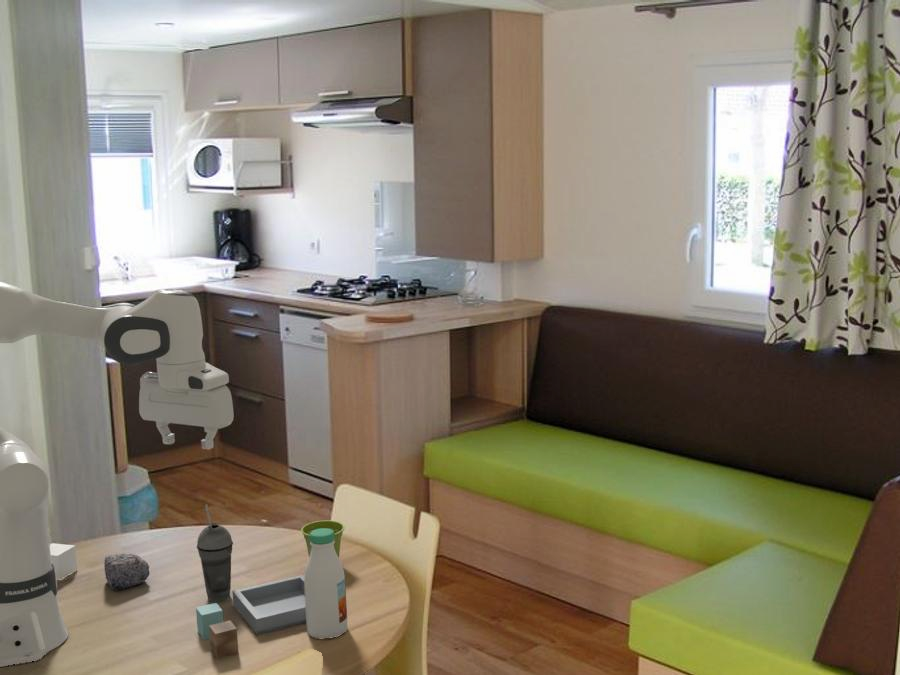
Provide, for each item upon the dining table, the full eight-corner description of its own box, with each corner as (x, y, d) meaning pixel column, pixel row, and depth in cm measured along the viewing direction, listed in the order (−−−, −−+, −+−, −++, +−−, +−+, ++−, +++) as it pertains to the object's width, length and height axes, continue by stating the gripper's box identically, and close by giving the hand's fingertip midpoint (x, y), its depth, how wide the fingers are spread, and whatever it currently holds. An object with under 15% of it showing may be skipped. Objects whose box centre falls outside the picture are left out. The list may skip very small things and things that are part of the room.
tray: (257, 634, 207) (256, 619, 206) (233, 605, 220) (232, 590, 219) (331, 616, 214) (331, 600, 213) (304, 588, 227) (303, 574, 226)
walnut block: (217, 659, 198) (215, 633, 197) (211, 650, 201) (209, 625, 200) (238, 653, 199) (236, 628, 199) (232, 645, 203) (230, 620, 202)
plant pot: (355, 561, 240) (353, 524, 239) (328, 577, 232) (326, 538, 231) (321, 554, 245) (319, 517, 244) (294, 568, 237) (292, 531, 236)
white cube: (60, 582, 235) (57, 555, 234) (37, 579, 236) (34, 553, 235) (77, 571, 240) (75, 545, 239) (54, 568, 242) (52, 543, 241)
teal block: (203, 640, 205) (201, 615, 204) (197, 631, 209) (195, 607, 208) (224, 634, 207) (222, 610, 206) (218, 626, 211) (216, 602, 210)
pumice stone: (149, 584, 237) (103, 575, 236) (156, 551, 236) (110, 541, 235) (139, 603, 227) (91, 593, 226) (147, 569, 226) (99, 559, 225)
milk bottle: (330, 644, 202) (325, 542, 198) (298, 635, 206) (292, 535, 202) (355, 627, 208) (350, 528, 205) (324, 619, 213) (318, 521, 209)
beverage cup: (228, 606, 220) (221, 512, 216) (194, 604, 221) (187, 510, 217) (242, 591, 227) (235, 499, 223) (209, 589, 228) (202, 498, 224)
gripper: (128, 374, 205) (134, 445, 208) (213, 382, 196) (219, 456, 199) (151, 367, 211) (157, 436, 213) (235, 374, 201) (241, 446, 204)
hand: (188, 446), depth 206 cm, fingers open, 8 cm apart
